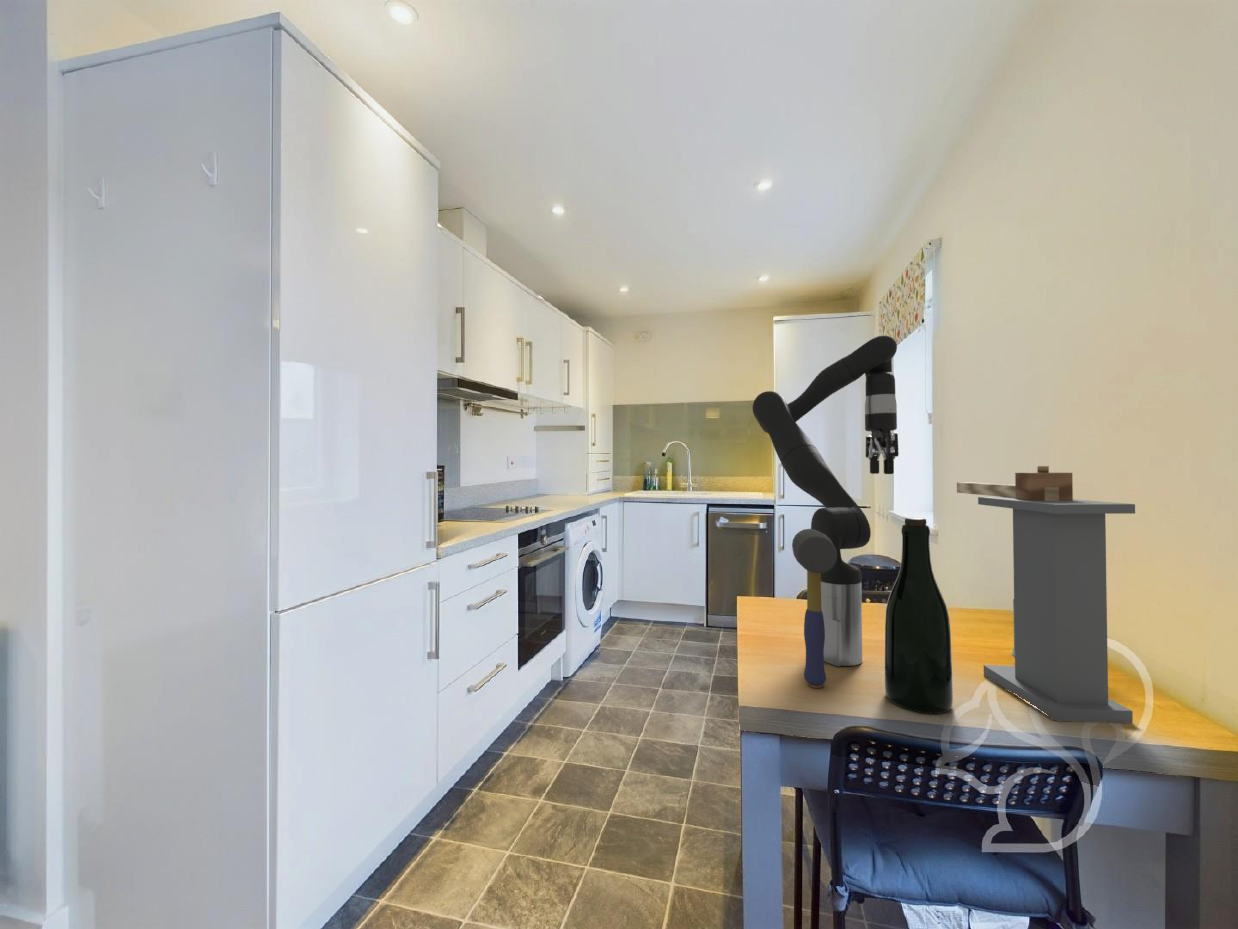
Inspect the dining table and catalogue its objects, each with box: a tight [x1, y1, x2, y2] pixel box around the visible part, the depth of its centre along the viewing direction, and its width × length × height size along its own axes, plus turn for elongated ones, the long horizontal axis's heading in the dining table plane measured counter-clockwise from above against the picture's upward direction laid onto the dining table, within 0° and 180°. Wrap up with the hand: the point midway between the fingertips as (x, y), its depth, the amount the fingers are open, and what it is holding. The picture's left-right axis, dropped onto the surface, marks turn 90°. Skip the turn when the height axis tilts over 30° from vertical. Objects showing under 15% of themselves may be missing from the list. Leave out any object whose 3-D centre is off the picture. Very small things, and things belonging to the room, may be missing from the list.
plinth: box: [977, 496, 1136, 724], centre depth 91 cm, size 20×12×36 cm, turn 175°
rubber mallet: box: [791, 528, 837, 689], centre depth 96 cm, size 12×8×30 cm, turn 166°
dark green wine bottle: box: [884, 517, 954, 714], centre depth 89 cm, size 10×10×33 cm
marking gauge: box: [956, 465, 1074, 501], centre depth 103 cm, size 27×7×6 cm, turn 175°
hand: (881, 473), depth 132 cm, fingers open, 8 cm apart
